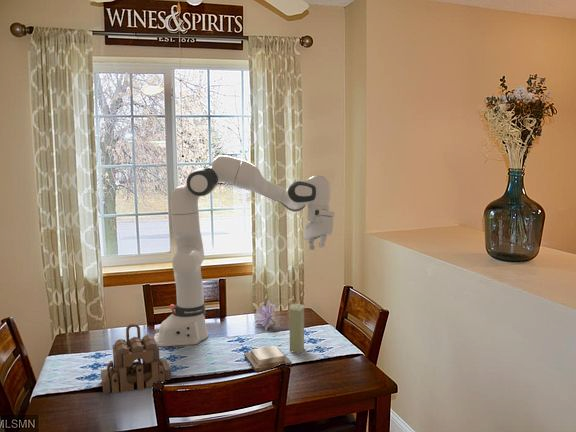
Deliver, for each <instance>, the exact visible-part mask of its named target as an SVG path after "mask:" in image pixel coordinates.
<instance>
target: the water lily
mask: <svg viewBox="0 0 576 432" xmlns="http://www.w3.org/2000/svg"><path fill="white" fill-rule="evenodd" d="M276 307H277V303H274V304H273V305H272V307H271V303H270V300H269V299H267V301H266V305H261V308H259V309H257V310H256V314H257V315H258V316H257V317H255V321H254V323H253V325H254V326H255V325H258V324H261V323H262V325H261V327H264V330H265V331H267V330H268V328H269V326H270V321H272V323H273V324H274V323H275V324H276V322H275V321H274V319H273V318H274V315H273V313H274V312H275V308H276Z"/></svg>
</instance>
